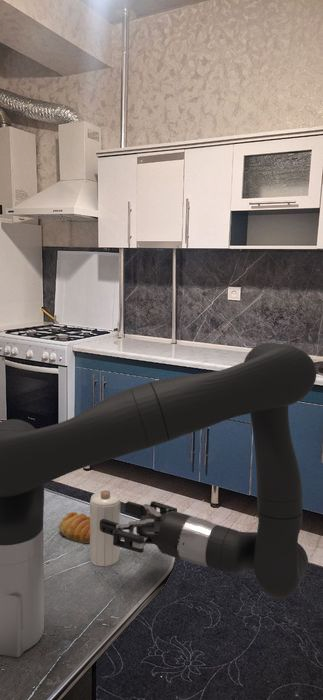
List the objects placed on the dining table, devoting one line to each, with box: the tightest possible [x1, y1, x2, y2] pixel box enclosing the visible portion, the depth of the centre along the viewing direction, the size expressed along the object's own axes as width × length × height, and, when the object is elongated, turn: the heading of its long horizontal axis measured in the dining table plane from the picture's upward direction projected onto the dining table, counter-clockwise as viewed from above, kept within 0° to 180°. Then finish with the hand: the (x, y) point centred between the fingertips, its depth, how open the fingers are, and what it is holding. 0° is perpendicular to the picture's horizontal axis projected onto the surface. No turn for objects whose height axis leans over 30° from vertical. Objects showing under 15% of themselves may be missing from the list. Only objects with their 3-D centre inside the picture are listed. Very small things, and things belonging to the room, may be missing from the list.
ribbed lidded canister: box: [89, 490, 121, 567], centre depth 97 cm, size 6×6×14 cm
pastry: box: [58, 511, 90, 544], centre depth 106 cm, size 9×7×4 cm
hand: (113, 515), depth 96 cm, fingers open, 8 cm apart
